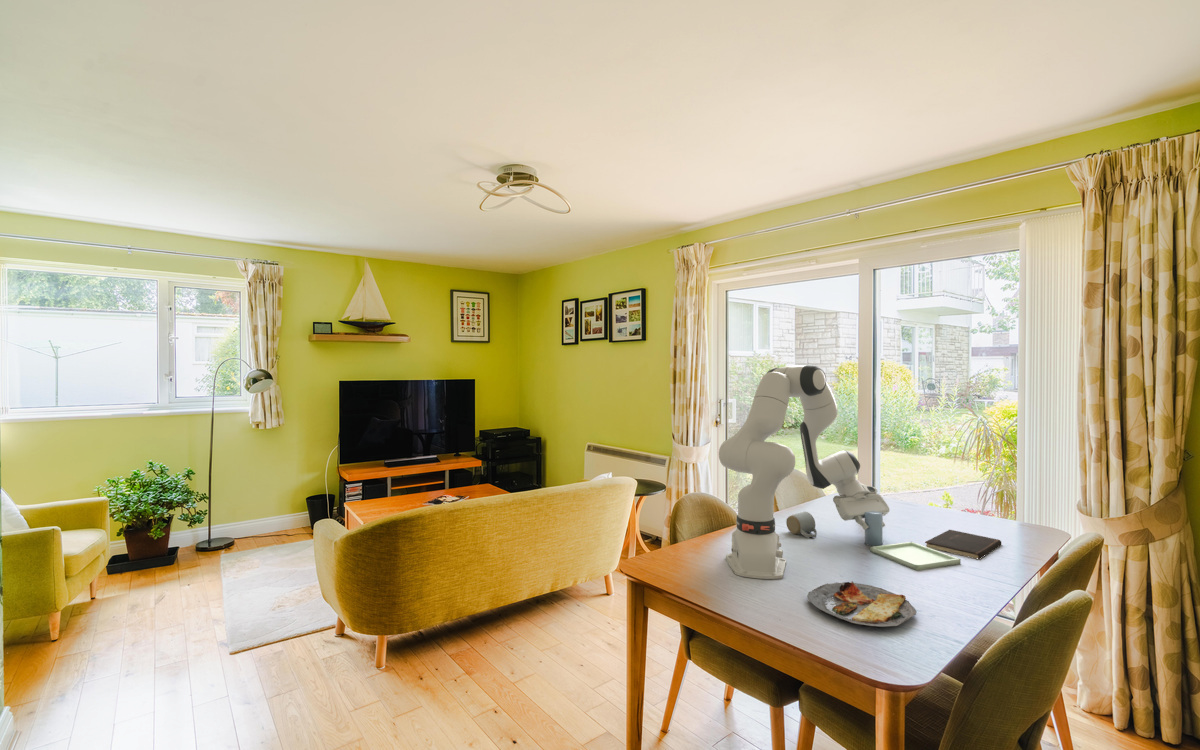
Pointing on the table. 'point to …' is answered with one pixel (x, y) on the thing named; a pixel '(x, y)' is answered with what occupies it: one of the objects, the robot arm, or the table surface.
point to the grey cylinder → (874, 528)
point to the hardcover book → (963, 543)
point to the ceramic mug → (801, 524)
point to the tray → (915, 555)
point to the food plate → (863, 604)
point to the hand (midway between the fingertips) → (875, 527)
